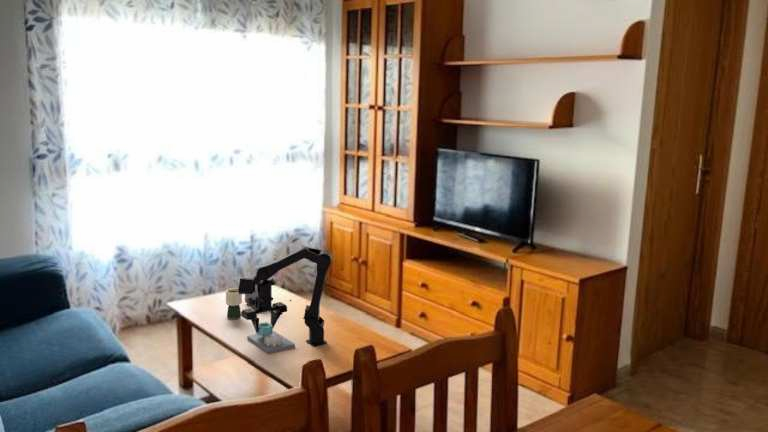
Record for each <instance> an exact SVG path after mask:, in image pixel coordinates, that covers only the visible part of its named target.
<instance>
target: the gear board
mask: <svg viewBox="0 0 768 432" xmlns="http://www.w3.org/2000/svg"><path fill="white" fill-rule="evenodd" d="M246 338H247V341H248V342H251V344H254V345H255V346H256V347H258V348H259V349H261V350H263V351H264V352H266V353H267V354H270V355H271V354H274V353H277V352H281V351H285V350H286V351H287V350H288V349H293V348H296V345H295V343H294V342H293V341H291V340H290V339H288V338H286V337H284V336H283V335H282V334H279V333H278V332H277V331H275V330H273V333H272V334H270V335H267V336H261V335H257V334H256V333H254V334H251V335H247V337H246Z"/></svg>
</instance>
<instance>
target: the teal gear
mask: <svg viewBox="0 0 768 432" xmlns="http://www.w3.org/2000/svg"><path fill="white" fill-rule="evenodd" d="M273 331H274V328H273V325H272V323H271V322H267V321H265V322H259V328H258V332H256V331H255V334H257V335H261V336H267V335H270V334H272V333H273Z"/></svg>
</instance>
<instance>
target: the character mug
mask: <svg viewBox="0 0 768 432" xmlns="http://www.w3.org/2000/svg"><path fill="white" fill-rule="evenodd" d="M242 296H243V294H239V292H238V288H237V287H232V288H231V287H230V288H227V289H226V290H225V304H226V305H227V306H228V307H227V313H226V314H227V315H226V317H227V318H228V319H238V318H239V319H240V318H241V317H242V316H241V312H242V310H241V307H240V305H241V304H242V303H243V298H242Z"/></svg>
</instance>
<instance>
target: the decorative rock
mask: <svg viewBox="0 0 768 432" xmlns="http://www.w3.org/2000/svg"><path fill="white" fill-rule="evenodd" d="M251 278H254V276H252V277H251ZM262 281H263V280H262ZM256 296H258V285H257V289H256V292H254V293H253V294H244V302H245V303H246V304H247V298H253V299H256ZM249 307H251V305H250V306H249ZM252 308H253V309H256V308H255V306H254V307H252Z"/></svg>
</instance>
